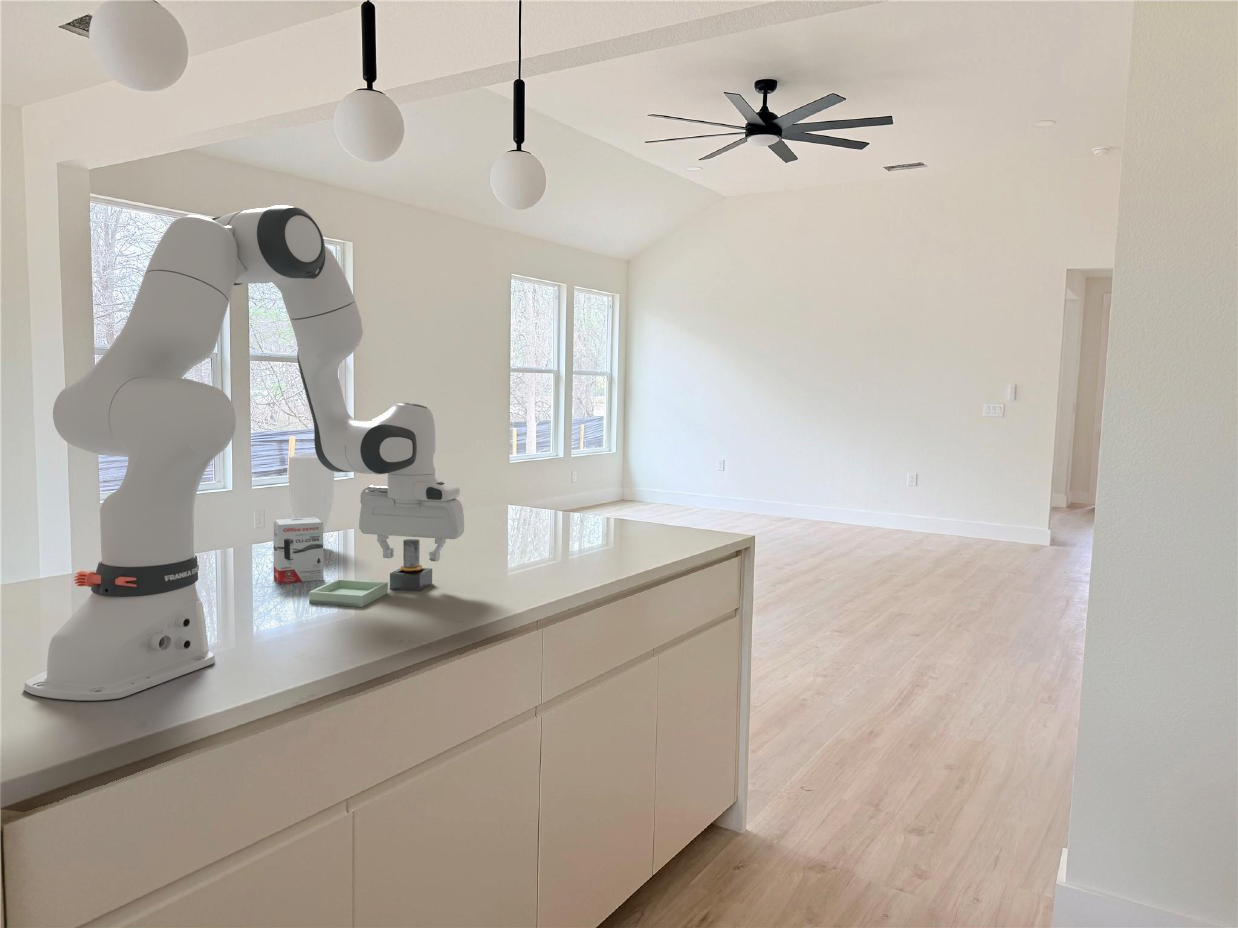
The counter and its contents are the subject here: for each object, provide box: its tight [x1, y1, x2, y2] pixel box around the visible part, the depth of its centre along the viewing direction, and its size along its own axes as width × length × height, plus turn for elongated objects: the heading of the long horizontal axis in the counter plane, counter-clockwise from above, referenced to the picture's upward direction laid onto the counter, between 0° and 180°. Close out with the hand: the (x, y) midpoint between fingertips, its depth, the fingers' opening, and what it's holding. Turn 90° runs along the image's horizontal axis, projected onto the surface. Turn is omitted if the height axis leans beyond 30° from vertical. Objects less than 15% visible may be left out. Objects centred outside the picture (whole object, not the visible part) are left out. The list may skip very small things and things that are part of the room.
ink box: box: [273, 517, 324, 585], centre depth 161 cm, size 8×5×12 cm, turn 123°
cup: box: [288, 453, 335, 534], centre depth 191 cm, size 10×10×22 cm
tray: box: [308, 578, 389, 608], centre depth 148 cm, size 10×10×2 cm
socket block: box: [389, 567, 433, 592], centre depth 158 cm, size 6×6×3 cm
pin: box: [400, 538, 423, 574], centre depth 158 cm, size 4×4×9 cm
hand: (411, 559), depth 158 cm, fingers open, 8 cm apart
